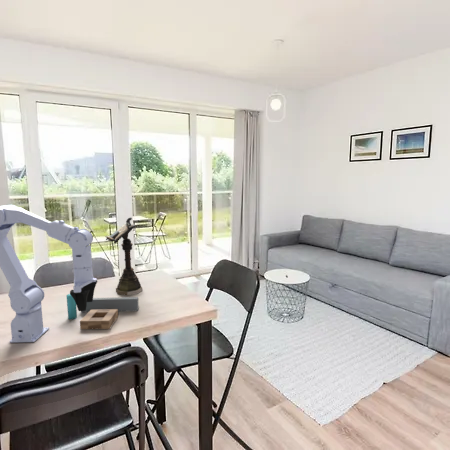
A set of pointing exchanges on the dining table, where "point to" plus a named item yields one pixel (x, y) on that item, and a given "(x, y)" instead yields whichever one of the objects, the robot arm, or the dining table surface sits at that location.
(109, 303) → the backstop wall
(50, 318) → the dining table surface
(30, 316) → the robot arm
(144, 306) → the dining table surface
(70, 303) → the dowel
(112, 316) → the wooden square frame
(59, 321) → the dining table surface
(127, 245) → the dark bronze tall stand
